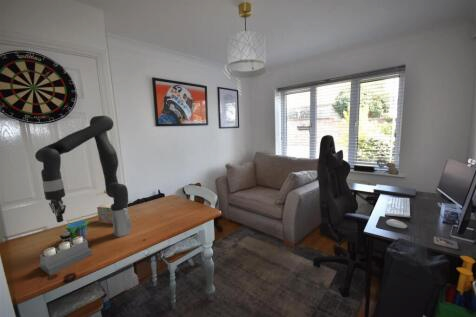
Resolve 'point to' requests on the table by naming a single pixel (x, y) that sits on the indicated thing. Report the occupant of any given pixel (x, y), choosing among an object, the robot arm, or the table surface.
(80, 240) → the knob
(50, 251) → the knob
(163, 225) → the table surface
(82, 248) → the grey compartment box
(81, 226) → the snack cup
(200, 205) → the table surface
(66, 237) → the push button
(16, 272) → the table surface
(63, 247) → the knob mid
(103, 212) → the cereal box
